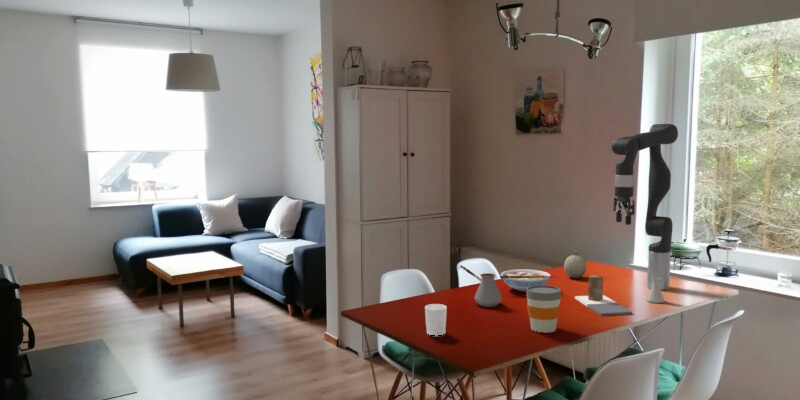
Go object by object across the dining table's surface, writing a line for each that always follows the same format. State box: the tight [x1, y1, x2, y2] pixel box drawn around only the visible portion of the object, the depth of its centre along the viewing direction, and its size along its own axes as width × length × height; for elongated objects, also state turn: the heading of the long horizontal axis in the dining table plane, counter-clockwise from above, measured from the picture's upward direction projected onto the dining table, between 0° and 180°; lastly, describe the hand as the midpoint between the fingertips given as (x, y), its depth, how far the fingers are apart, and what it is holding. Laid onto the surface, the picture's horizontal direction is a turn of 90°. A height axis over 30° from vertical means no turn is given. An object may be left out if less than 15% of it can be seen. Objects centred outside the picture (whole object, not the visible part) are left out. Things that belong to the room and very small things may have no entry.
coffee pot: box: [458, 265, 503, 308], centre depth 259 cm, size 21×12×15 cm, turn 44°
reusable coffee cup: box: [525, 284, 562, 334], centre depth 222 cm, size 13×13×15 cm
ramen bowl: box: [499, 268, 556, 293], centre depth 279 cm, size 25×23×8 cm
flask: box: [646, 278, 665, 304], centre depth 256 cm, size 7×7×10 cm
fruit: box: [563, 246, 588, 279], centre depth 301 cm, size 10×12×15 cm
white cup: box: [424, 303, 448, 337], centre depth 219 cm, size 8×8×10 cm
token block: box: [587, 274, 604, 301], centre depth 257 cm, size 4×4×10 cm
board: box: [574, 294, 633, 317], centre depth 251 cm, size 26×13×1 cm, turn 6°
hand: (623, 223), depth 258 cm, fingers open, 8 cm apart
